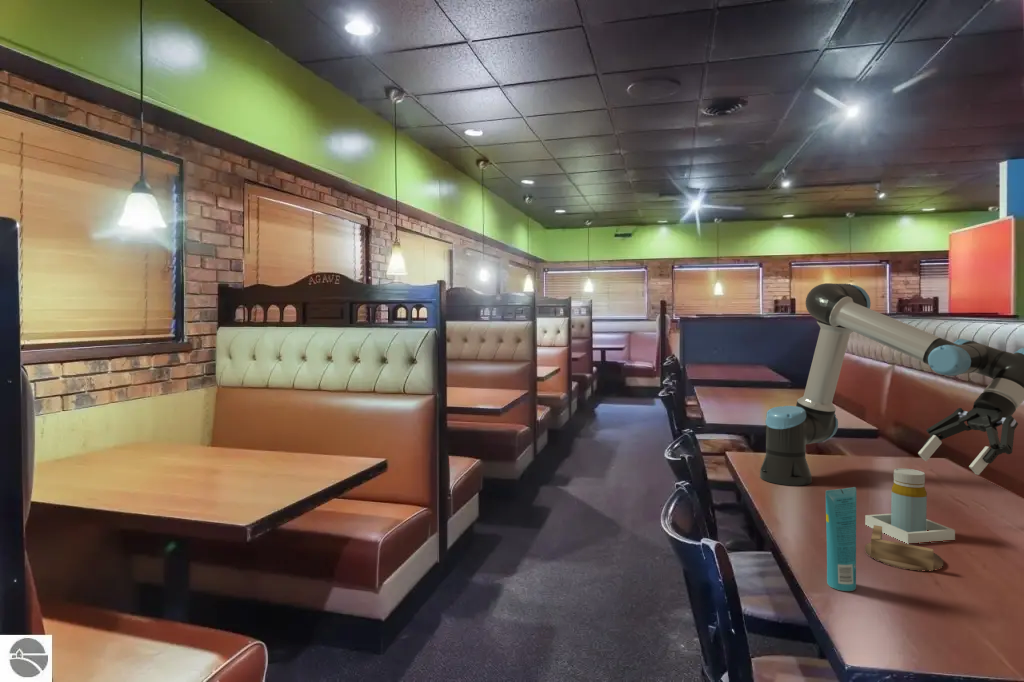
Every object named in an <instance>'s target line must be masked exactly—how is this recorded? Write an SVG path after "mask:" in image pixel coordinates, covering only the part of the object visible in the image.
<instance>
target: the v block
mask: <svg viewBox="0 0 1024 682" xmlns="http://www.w3.org/2000/svg"><path fill="white" fill-rule="evenodd" d="M865 551H866V553H867V554H868V555H870V556H871V557H873V558H875V559H876V560H879V561H881V562H883V563H885V564H884V565H886V564H889V565H891V566H890V567H892V566H895V567H894V568H896V567H900V568H905V569H910V570H909V571H911V570H919V571H918V572H922V570H925V571H928V572H934V571H933V570H935V569H939V568H941V567H942V566H943V567H944V560H943V558H942V557H941V556H940V555H938V554H937V553H935V552H934V548H929V547H925V546H924V547H923V546H918V545H915V544H906V543H904V542H897V541H893V540H891V541H890V540H885V539H883V533H882V526H876V525H874V527H873V528H872V534H871V537H870V542H869V543H866V544H865V546H864V552H865ZM866 553H865V554H866ZM867 554H866V555H867ZM868 555H867V556H868ZM871 557H870V558H871ZM876 560H875V561H876ZM883 563H882V564H883ZM889 565H888V566H889ZM943 567H942V568H943ZM900 568H899V569H900ZM942 568H941V569H942ZM905 569H904V570H905ZM929 570H931V571H929Z"/></svg>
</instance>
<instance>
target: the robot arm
mask: <svg viewBox="0 0 1024 682" xmlns="http://www.w3.org/2000/svg"><path fill="white" fill-rule="evenodd" d="M871 303H872V302H871V298H870V295H869V294H868V292H867V291H866V290H865V289H864V288H863V287H861V286H858V285H855V284H851V283H832V282H831V283H830V282H829V283H820V284H818V285H816V286H814V287H813V288H812V289H811V290H810V291H809V292H808V293H807V295H806V297H805V308H806V310H807V312H808V313H809V315H810V316H811V317H813V318H814V319H816V323H817V325H818V326H819V328H820V329H819V333H818V337H817V342H816V344H815V345H816V346H815V349H814V353H813V358H812V362H811V364H810V365H811V366H810V369H809V373H808V377H807V381H806V386H805V389H804V393H803V396H801V397H799V398H798V399H797V400H796V404H795V406H794V405H783V406H781V405H780V406H774V407H772V408H770V409H768V410H767V411H766V416H765V456H764V458H763V462H762V464H761V468H760V471H759V478H760V479H761V480H764V481H765V482H768V483H772V484H777V485H784V486H807V485H810V484H812V479H813V477H812V473H811V468H810V467H809V464H808V461H807V459H806V451H807V450H806V447H807V446H806V445H811V444H817V443H818V444H819V443H823V442H825V441H828V440H830V439H832V438H833V437H834V435H836V433H837V431H838V429H839V420H838V418H837V416H836V411H837V410H836V409H837V408H836V406H835V405H834V403H833V401H834V397H835V393H836V390H837V386H838V382H839V378H840V374H841V370H842V367H843V363H844V359H845V356H846V352H847V347H848V343H849V340H850V336H851V334H852V333H853V332H854V333H857V334H858V335H861V336H863V337H866V339H870V340H872V341H875V342H876V343H878V344H881V345H883V346H886V347H888V348H889V349H892V350H894V351H897V352H899V353H901V354H904V355H906V356H908V357H910V358H913V359H915V360H917V361H919V362H922V363H924V364H926V365H928V366H929V368H931V370H932V371H934V373H937V374H939V375H943V376H959V375H964V374H965V375H966V374H974V373H975V374H978V375H982V376H985V377H987V378H991V379H992V380H991V382H990V383H989V384H988V385H987V386H986V387H985V388H984V390H983V392H982V393H980V395H979V396H978V397H977V398H976V399H975V401H973V405H972V406H973V407H972V409H970V410H969V411H966V410H964V409H963V407H958V408H957V409H956V410H954V411H953V413H951V414H950V415H948V416H946V417H945V418H943V419H941V420H940V421H938V422H936V423H934V424H933V425H931V426H930V427H928V428H926V430H925V431H926V433H927V434H929V437H928V438H927V440H926V441H925V442H924V444H923V446H922V448H921V449H920V450H919V451H918V452H917V454H918V456H919V457H920V458H922V460H923V461H925V462H928V460H929V459H930V458H931V457H932V455H933V454H934V453H935V452H936V451H937V449H938V448H939V447H940V446H941V445H942V443H943V441H942V440H944V439H947V438H949V437H952V436H955V435H958V434H959V433H962V432H965V431H966V432H969V431H971V430H973V431H980V432H982V433H985V432H986V435H987V438H988V446H986V445H985V446H984V447H983V449H982V450H980V452H979V454H978V455H977V456H976V457H975V458H974V460H972V462H971V463H970V465H969V466H968V468H969V469H970V470H971V471H972V473H974V474H975V475H978V476H979V475H981V473H982V472H983V471H984V469H986V467H987V466H988V464H992V463H993V462H994V461H995V460H996V459H997V457H998V456H999V455H1002V454H1006V455H1011V454H1013V450H1014V449H1013V447H1014V439H1015V438H1014V437H1015V431H1016V428H1017V427H1018V425H1019V423H1018V422H1017V420H1016V419H1015V418H1014V417H1013V415H1014V413H1016V410H1017V409H1018V408H1019V407H1020V406H1021V405H1022V403H1023V402H1024V347H1021V348H1019V349H1017V350H1016V351H1014V352H1013V353H1012V352H1009V351H1006V350H1001V349H998V348H995V347H992V346H989V345H985V344H983V343H979V342H977V341H975V340H969V339H964V338H959V339H956V341H953V342H952V341H950V340H948V339H944V338H942V337H940V336H937V335H935V334H932V333H930V332H928V331H925V330H922V329H920V328H917V327H915V326H912V325H910V324H908V323H905V322H903V321H900V320H898V319H895V318H893V317H891V316H888V315H886V314H883V313H881V312H879V311H876V310H873V309H872V308H871ZM998 427H1001V434H1000V437H999V431H998ZM999 438H1000V439H999Z"/></svg>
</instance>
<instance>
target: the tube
mask: <svg viewBox="0 0 1024 682" xmlns="http://www.w3.org/2000/svg"><path fill="white" fill-rule="evenodd" d="M825 521H826V522H825V524H826V526H825V528H826V529H825V530H826V531H825V532H826V583H827V586H829V587H830V588H832V589H835V590H838V591H843V592H853V591H855V590H856V589H857V487H856V486H853V487H846V488H837V489H829V490H828V489H827V490H825Z"/></svg>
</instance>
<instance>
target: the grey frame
mask: <svg viewBox="0 0 1024 682" xmlns="http://www.w3.org/2000/svg"><path fill="white" fill-rule="evenodd" d="M864 517H865V520H864V523H865V524H864V525H865V526H866V525H867V526H866V527H868V526H869V527H868V528H871V529H873V527H874V525H876V526H882V534H884V533H885V534H884V535H886V534H887V535H886V536H888V535H889V536H888V537H890V536H891V538H893V537H894V538H893V539H895V538H896V539H895V540H897V539H898V540H897V541H899V540H900V541H899V542H901V541H903V542H902V543H904V542H905V543H904V544H906V543H907V544H909V543H918V542H919V544H921V543H920V542H929V541H930V542H931V541H943V540H955V541H956V529H954V528H951V527H949V526H946V525H943V524H941V523H938V522H936V521H934V520H930V519H927V518H926V531H918V532H906V531H904V530H902V529H899V528H897V527H895V526H892V525H891V513H882V514H881V513H880V514H879V513H878V514H866V515H864ZM927 530H929V531H927ZM943 542H944V541H943ZM931 543H932V542H931ZM909 545H910V544H909Z"/></svg>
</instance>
